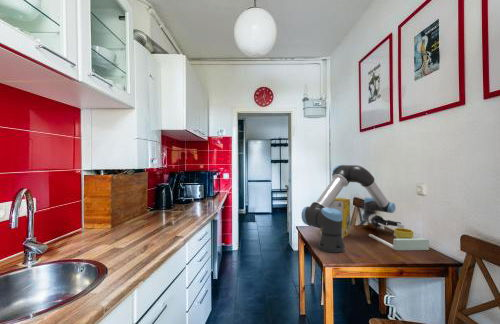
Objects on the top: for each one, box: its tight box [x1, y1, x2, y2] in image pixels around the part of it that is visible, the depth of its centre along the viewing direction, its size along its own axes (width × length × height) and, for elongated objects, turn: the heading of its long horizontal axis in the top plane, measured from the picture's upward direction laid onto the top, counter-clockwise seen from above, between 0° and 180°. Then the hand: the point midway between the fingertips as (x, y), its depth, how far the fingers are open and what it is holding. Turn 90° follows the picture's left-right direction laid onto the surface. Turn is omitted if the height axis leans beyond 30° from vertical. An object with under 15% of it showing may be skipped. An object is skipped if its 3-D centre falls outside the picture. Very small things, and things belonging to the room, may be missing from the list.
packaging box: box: [319, 197, 351, 239], centre depth 192 cm, size 16×16×25 cm
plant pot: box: [393, 227, 414, 239], centre depth 166 cm, size 10×10×10 cm
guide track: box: [368, 233, 430, 251], centre depth 173 cm, size 32×20×6 cm, turn 4°
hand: (393, 227), depth 176 cm, fingers open, 13 cm apart
